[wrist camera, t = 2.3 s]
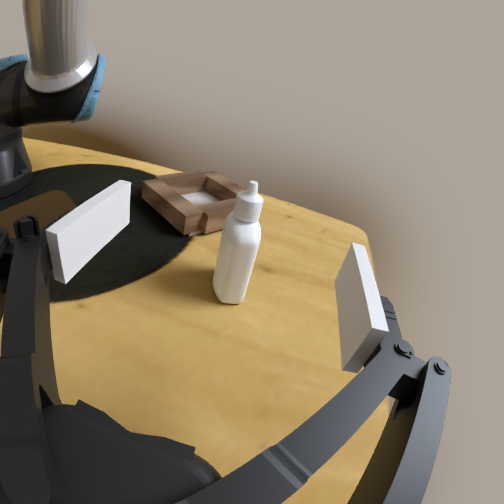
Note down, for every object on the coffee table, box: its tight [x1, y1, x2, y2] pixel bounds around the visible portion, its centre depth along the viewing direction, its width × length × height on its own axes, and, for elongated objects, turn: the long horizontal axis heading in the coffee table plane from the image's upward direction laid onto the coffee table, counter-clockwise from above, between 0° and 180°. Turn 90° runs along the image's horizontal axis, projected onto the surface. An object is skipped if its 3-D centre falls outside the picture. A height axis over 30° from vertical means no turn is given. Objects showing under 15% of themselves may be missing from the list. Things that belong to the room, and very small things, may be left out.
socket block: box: [142, 171, 246, 237], centre depth 44 cm, size 14×14×3 cm
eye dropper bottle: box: [213, 181, 264, 304], centre depth 28 cm, size 4×6×12 cm
